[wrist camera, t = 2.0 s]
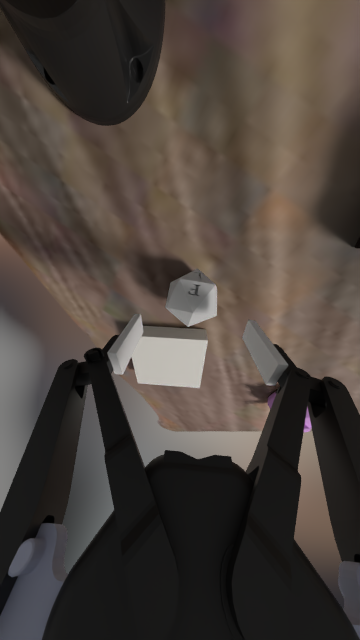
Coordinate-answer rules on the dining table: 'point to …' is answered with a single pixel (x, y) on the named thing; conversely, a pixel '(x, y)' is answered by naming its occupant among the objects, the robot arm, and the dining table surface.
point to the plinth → (170, 356)
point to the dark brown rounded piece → (358, 244)
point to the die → (192, 298)
